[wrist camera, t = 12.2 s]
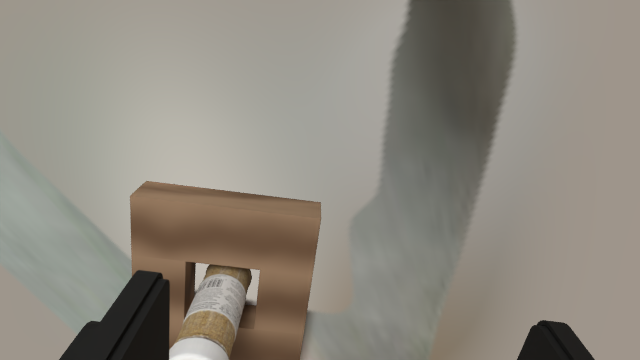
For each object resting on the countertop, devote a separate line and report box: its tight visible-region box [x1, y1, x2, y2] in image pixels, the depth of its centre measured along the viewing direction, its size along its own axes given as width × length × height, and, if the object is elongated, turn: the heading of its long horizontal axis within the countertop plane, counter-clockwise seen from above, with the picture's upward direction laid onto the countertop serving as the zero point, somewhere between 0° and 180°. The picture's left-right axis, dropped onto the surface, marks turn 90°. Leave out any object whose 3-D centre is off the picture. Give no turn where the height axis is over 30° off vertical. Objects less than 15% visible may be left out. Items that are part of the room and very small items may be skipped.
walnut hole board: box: [130, 181, 321, 360], centre depth 40 cm, size 18×16×4 cm
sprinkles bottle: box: [169, 264, 252, 360], centre depth 35 cm, size 5×5×14 cm
